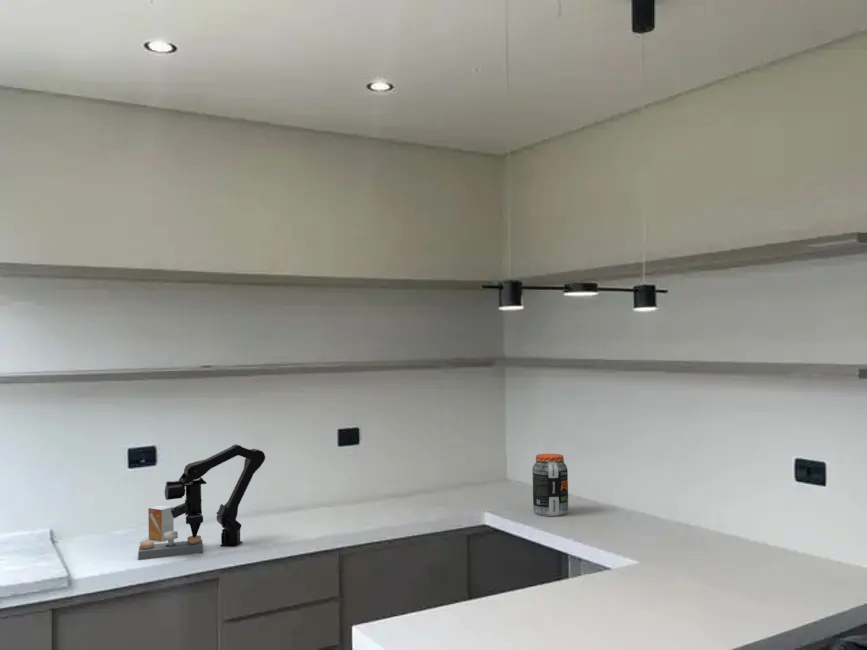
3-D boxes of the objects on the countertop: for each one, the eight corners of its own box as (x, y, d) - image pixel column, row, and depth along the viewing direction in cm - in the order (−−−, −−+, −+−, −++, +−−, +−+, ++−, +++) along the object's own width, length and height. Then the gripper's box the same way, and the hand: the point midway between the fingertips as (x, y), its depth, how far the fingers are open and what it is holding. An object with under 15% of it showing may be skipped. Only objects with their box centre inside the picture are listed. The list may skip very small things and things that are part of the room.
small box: (148, 539, 311) (147, 507, 312) (160, 535, 317) (160, 504, 317) (162, 541, 307) (161, 509, 308) (174, 538, 313) (173, 506, 313)
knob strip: (202, 546, 298) (202, 539, 298) (203, 552, 289) (202, 544, 289) (139, 553, 290) (139, 545, 290) (138, 559, 282) (138, 551, 282)
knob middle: (177, 543, 293) (177, 530, 293) (178, 547, 288) (177, 533, 288) (164, 545, 291) (163, 531, 291) (164, 548, 286) (163, 534, 287)
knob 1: (154, 553, 290) (154, 539, 290) (154, 556, 285) (154, 542, 285) (140, 554, 288) (140, 541, 288) (140, 557, 284) (139, 544, 284)
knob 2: (201, 547, 295) (200, 534, 296) (201, 551, 291) (201, 537, 291) (187, 549, 294) (187, 536, 294) (187, 552, 289) (187, 539, 289)
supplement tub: (568, 517, 331) (567, 458, 332) (532, 516, 334) (530, 458, 335) (568, 509, 347) (567, 452, 348) (534, 508, 350) (532, 452, 350)
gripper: (171, 494, 299) (172, 533, 299) (171, 503, 281) (172, 545, 281) (201, 491, 303) (201, 530, 302) (202, 500, 285) (203, 542, 285)
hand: (194, 537), depth 292 cm, fingers closed, pressing on knob 2
